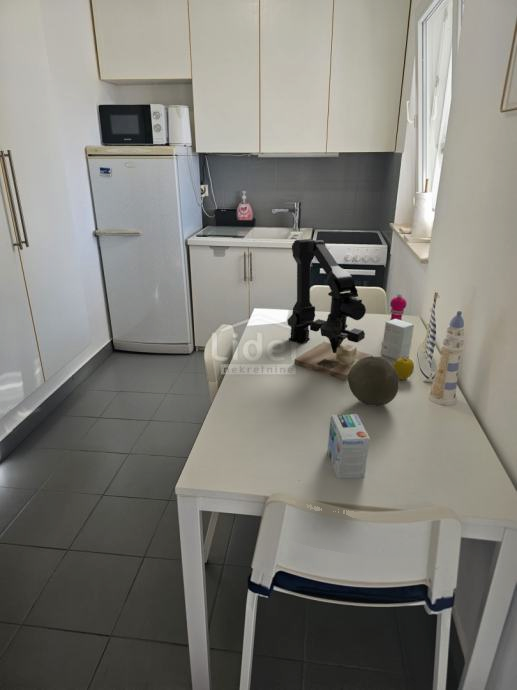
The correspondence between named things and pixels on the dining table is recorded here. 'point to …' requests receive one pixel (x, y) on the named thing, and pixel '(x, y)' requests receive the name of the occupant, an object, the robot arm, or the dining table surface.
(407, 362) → the apple
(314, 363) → the trap board
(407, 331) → the small box
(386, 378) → the cantaloupe
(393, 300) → the pepper mill
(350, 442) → the light bulb box
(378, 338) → the dining table surface
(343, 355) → the maple block
